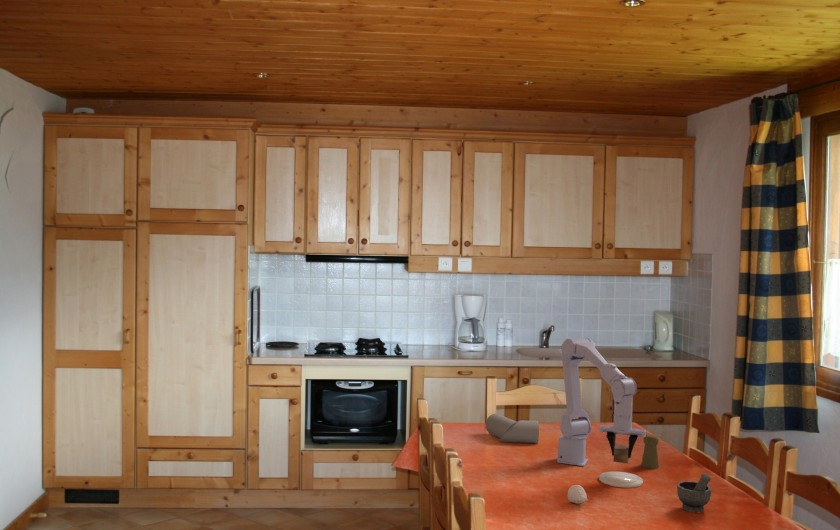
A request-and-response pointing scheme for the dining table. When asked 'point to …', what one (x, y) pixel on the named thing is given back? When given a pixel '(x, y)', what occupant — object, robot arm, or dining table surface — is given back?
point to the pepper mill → (650, 452)
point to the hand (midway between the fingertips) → (621, 456)
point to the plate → (621, 479)
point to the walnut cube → (621, 454)
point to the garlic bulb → (577, 494)
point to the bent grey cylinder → (513, 429)
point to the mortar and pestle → (694, 494)
